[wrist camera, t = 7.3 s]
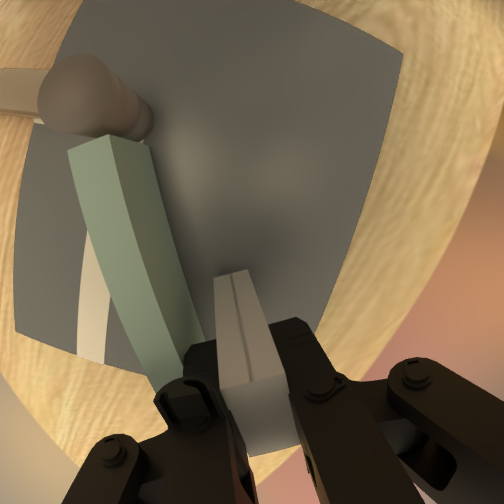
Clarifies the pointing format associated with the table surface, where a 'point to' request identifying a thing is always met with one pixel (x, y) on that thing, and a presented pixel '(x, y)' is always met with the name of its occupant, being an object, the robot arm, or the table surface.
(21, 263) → the card
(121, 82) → the base
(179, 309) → the gate panel
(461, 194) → the table surface
